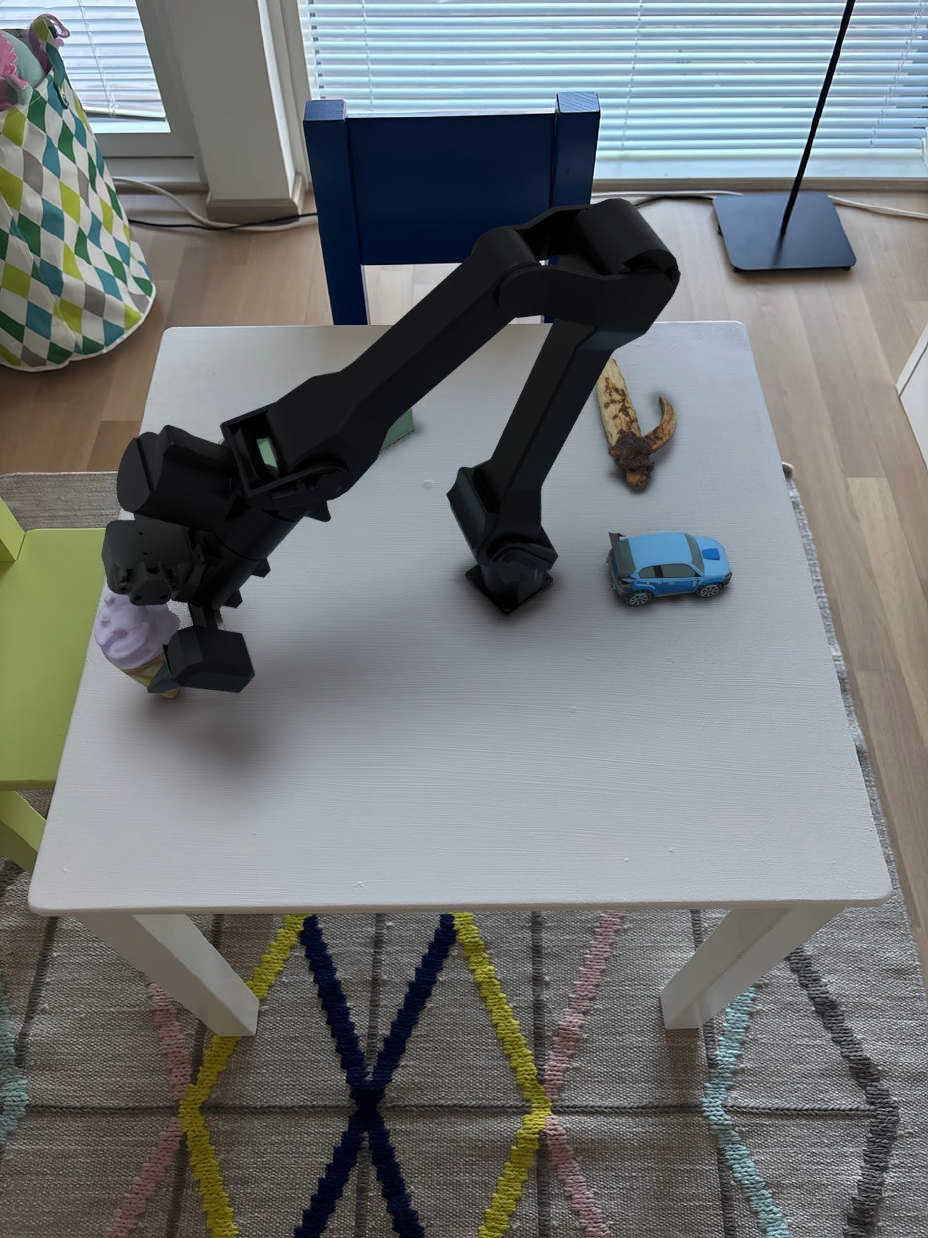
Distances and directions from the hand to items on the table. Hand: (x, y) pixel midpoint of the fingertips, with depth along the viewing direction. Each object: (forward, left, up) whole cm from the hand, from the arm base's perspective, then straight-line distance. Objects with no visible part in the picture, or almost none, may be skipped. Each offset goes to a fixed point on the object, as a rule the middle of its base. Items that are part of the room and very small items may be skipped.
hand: (142, 647), depth 78 cm
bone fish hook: (-5, -56, -9) cm, 57 cm away
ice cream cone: (0, 0, -9) cm, 9 cm away
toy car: (-21, -44, -9) cm, 50 cm away
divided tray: (+16, -28, -8) cm, 34 cm away
